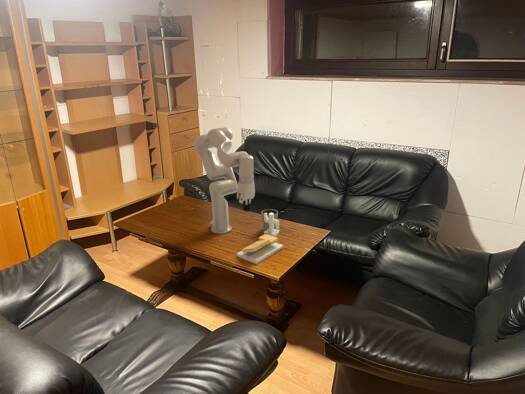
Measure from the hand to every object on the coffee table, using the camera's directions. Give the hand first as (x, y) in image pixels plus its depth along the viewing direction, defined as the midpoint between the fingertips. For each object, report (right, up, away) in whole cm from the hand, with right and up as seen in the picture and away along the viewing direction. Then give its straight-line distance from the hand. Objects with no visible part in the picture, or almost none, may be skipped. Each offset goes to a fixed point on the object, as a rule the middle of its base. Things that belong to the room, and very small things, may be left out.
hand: (246, 210), depth 212 cm
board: (+8, -23, +2) cm, 24 cm away
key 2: (+8, -18, 0) cm, 19 cm away
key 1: (+12, -16, +5) cm, 21 cm away
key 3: (+3, -20, -5) cm, 21 cm away
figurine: (+14, -16, +19) cm, 29 cm away
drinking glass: (+13, -13, +29) cm, 34 cm away
